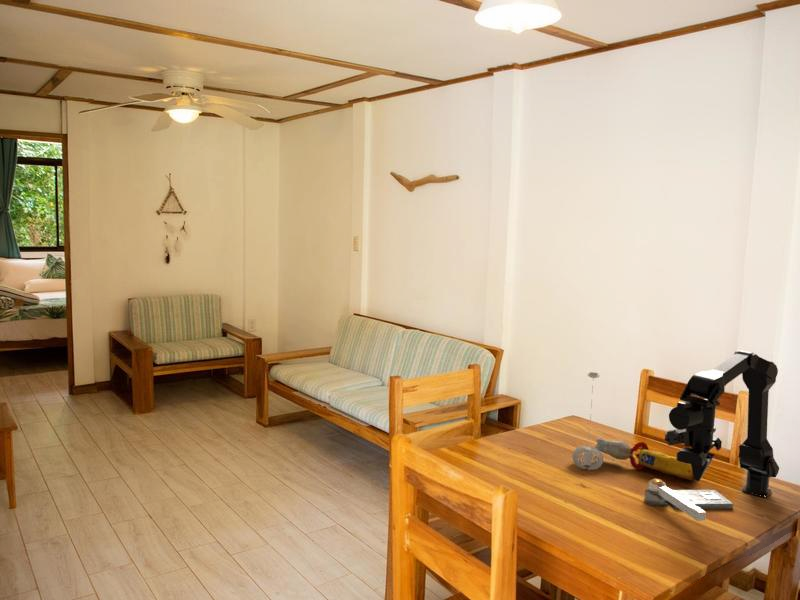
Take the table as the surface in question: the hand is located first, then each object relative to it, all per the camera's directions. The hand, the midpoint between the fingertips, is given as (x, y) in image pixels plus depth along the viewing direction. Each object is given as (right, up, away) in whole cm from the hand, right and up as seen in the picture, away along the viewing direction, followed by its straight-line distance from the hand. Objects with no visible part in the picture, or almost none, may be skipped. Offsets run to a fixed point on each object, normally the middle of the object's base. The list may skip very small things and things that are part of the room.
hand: (697, 480), depth 172 cm
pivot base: (-8, -8, +8) cm, 14 cm away
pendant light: (-20, -5, +33) cm, 38 cm away
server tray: (+4, -8, +9) cm, 13 cm away
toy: (-2, -6, +33) cm, 33 cm away
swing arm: (-6, -6, 0) cm, 8 cm away
